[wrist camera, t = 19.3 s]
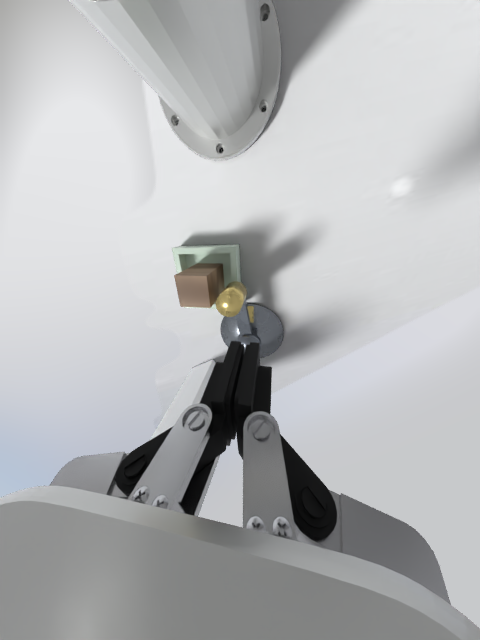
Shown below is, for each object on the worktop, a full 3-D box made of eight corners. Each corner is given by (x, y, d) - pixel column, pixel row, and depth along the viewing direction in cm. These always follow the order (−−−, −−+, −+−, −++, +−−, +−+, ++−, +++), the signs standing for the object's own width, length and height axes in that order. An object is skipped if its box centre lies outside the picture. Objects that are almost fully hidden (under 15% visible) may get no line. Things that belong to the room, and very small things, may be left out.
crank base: (218, 302, 31) (213, 309, 28) (285, 304, 29) (286, 312, 26) (223, 354, 36) (220, 363, 33) (281, 359, 34) (281, 369, 31)
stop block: (197, 263, 27) (174, 275, 21) (222, 263, 27) (206, 275, 21) (200, 288, 29) (180, 306, 23) (224, 289, 29) (210, 307, 23)
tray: (180, 246, 27) (171, 248, 25) (239, 244, 26) (235, 246, 23) (190, 301, 31) (184, 307, 29) (241, 303, 30) (238, 309, 28)
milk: (229, 378, 39) (183, 531, 20) (207, 386, 41) (148, 528, 22) (212, 358, 37) (144, 506, 18) (191, 367, 39) (110, 506, 20)
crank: (262, 351, 30) (260, 375, 25) (239, 352, 31) (232, 376, 26) (249, 277, 24) (242, 290, 20) (221, 281, 26) (208, 295, 21)
